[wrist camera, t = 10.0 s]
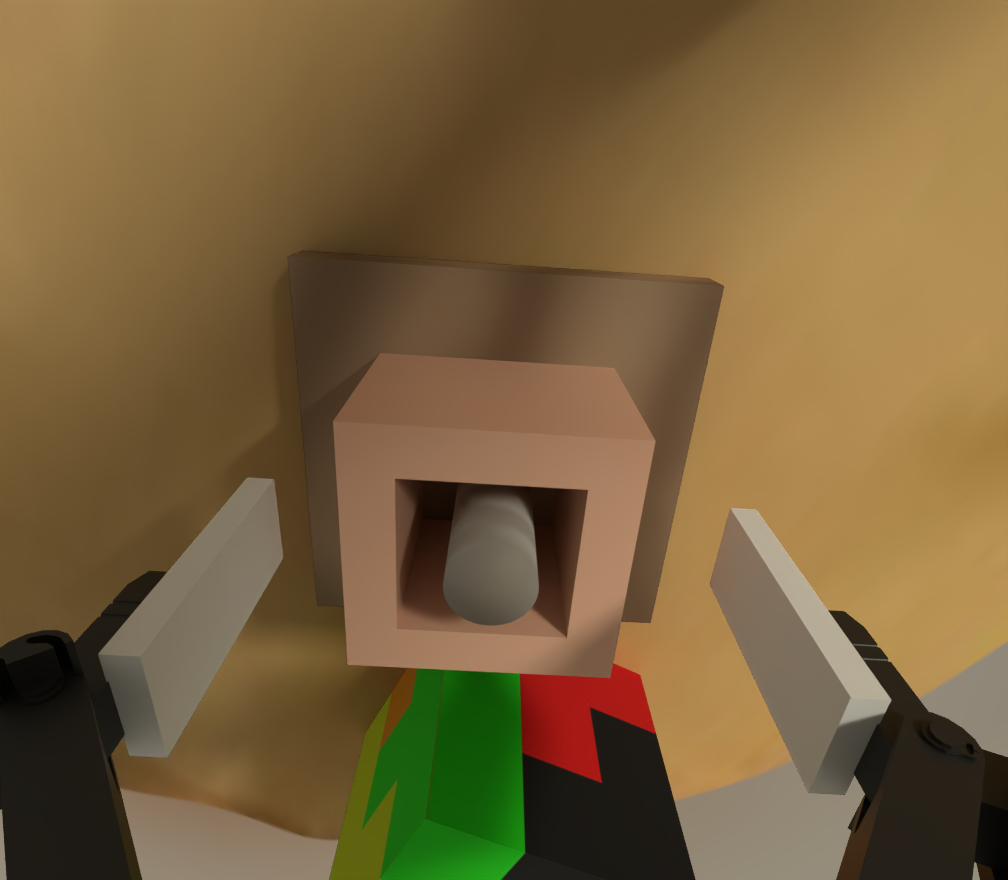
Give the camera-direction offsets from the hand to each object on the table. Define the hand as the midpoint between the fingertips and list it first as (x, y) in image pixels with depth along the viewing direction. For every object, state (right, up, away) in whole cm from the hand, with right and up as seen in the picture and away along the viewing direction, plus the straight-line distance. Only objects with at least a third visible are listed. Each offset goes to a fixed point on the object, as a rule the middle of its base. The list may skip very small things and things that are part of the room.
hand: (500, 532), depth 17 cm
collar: (0, +2, +5) cm, 5 cm away
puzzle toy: (0, -10, +12) cm, 16 cm away
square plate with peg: (0, +2, +6) cm, 6 cm away
